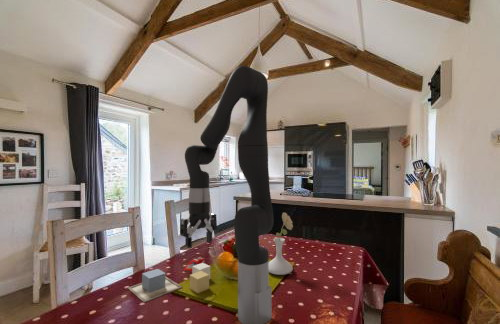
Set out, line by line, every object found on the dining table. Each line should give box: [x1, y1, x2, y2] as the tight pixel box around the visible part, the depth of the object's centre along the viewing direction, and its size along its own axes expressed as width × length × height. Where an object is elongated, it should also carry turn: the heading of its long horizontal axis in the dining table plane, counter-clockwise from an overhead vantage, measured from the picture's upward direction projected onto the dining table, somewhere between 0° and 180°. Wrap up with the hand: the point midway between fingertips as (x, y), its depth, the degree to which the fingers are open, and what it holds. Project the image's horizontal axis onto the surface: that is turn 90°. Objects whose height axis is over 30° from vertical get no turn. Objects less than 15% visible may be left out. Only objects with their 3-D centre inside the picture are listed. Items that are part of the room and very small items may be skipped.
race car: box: [183, 257, 206, 274], centre depth 111 cm, size 13×5×4 cm, turn 163°
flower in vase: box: [269, 212, 294, 276], centre depth 108 cm, size 13×11×25 cm
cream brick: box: [191, 263, 211, 280], centre depth 99 cm, size 5×5×6 cm
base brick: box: [141, 268, 166, 293], centre depth 92 cm, size 6×6×5 cm
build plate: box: [127, 275, 183, 304], centre depth 92 cm, size 14×14×1 cm
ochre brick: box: [189, 271, 210, 294], centre depth 91 cm, size 5×5×6 cm
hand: (199, 244), depth 91 cm, fingers open, 8 cm apart
